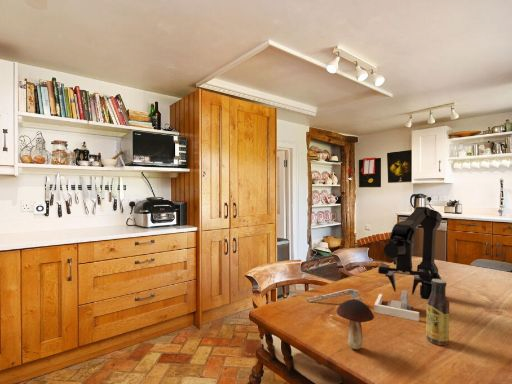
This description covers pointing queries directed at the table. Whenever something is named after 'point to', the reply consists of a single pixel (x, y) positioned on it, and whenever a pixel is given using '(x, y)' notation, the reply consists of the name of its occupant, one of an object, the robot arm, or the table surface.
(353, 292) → the bracket
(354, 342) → the decorative mushroom
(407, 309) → the pad
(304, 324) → the table surface
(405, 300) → the aluminium bracket
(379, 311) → the white l-shaped block
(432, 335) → the sauce bottle
